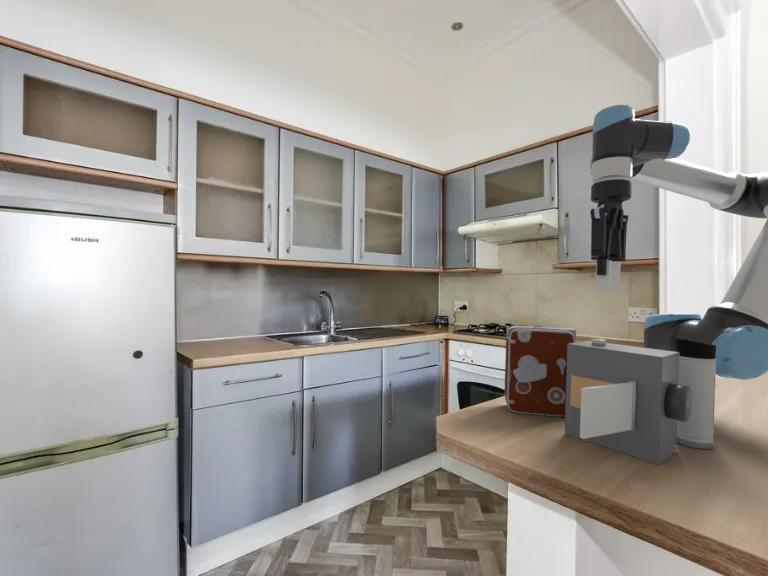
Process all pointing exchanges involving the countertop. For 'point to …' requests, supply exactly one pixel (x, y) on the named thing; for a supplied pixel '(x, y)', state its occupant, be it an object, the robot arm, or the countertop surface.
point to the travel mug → (697, 392)
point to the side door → (607, 409)
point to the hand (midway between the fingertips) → (607, 291)
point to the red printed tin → (537, 369)
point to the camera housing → (653, 395)
